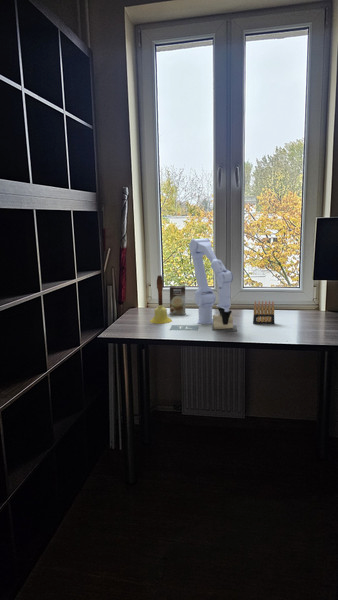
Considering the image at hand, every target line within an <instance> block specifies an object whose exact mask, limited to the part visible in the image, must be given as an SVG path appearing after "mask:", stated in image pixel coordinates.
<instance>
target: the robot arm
mask: <svg viewBox="0 0 338 600" xmlns="http://www.w3.org/2000/svg"><path fill="white" fill-rule="evenodd" d="M188 246H189V252H190V256H191V257H192V263H193V267H194V272H195V278H196V283H197V290H195V292H194V302H195V304H196V306H197V307H198V318H197V324H198V325H199V324H201V325H202V324H205V325H206V324H207V325H213V306H214V304H215V303H216V294H215V293H214V290H213V288H211V287H210V286H209V283H208V277H207V273H206V269H205V264H204V256H205V257H206V258H207V259H208V260H209V262H210V263H211V264H210V268H211V269H212V270H213V273H214V274H215V276H216V277H215V280H216V283H217V287H218V304H216V308H217V309H218V312H219V315H222V321H223V325H227V324H228V321H229V317H230V314H231V315H232V310H230V308H231V306H232V304H231V285H232V284H231V283H232V282H233V280H234V274H233V272H232V271H231V270H228V269H227V268H226V266H225V265H224V263H223V261H222V260H221V259H218V258H217V256H216V254H215V252H214V250H213V248H212V242H211V239H210V238H208V237H205V238H192V239H191V240H190V242H189V245H188Z"/></svg>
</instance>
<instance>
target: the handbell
mask: <svg viewBox="0 0 338 600" xmlns="http://www.w3.org/2000/svg"><path fill="white" fill-rule="evenodd" d="M163 289H164V279H163V276H162V274H161V275H160V274H158V275H157V277H156V290H157V299H158V304H157V307H156V308H155V309H154V316H153V317H152V318H151V319H150V320H149V323H151V324H155V325H157V324H158V325H163V324H169V323H172V322H173V320H172V318H170V317H169V316H168V311H167V310H168V309H167V308H166V306H165V307H164V306H163V291H164V290H163Z"/></svg>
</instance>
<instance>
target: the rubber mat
mask: <svg viewBox="0 0 338 600" xmlns="http://www.w3.org/2000/svg"><path fill="white" fill-rule="evenodd" d="M211 331H212V332H213V331H215V332H217V331H218V332H221V331H222V332H238V327H237V325H234V324H233V328H226V329H214V327H213V326H212V329H211Z"/></svg>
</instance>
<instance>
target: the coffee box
mask: <svg viewBox="0 0 338 600" xmlns="http://www.w3.org/2000/svg"><path fill="white" fill-rule="evenodd" d="M173 315H174V316H183V315H186V286H185V285H169V316H173Z"/></svg>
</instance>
